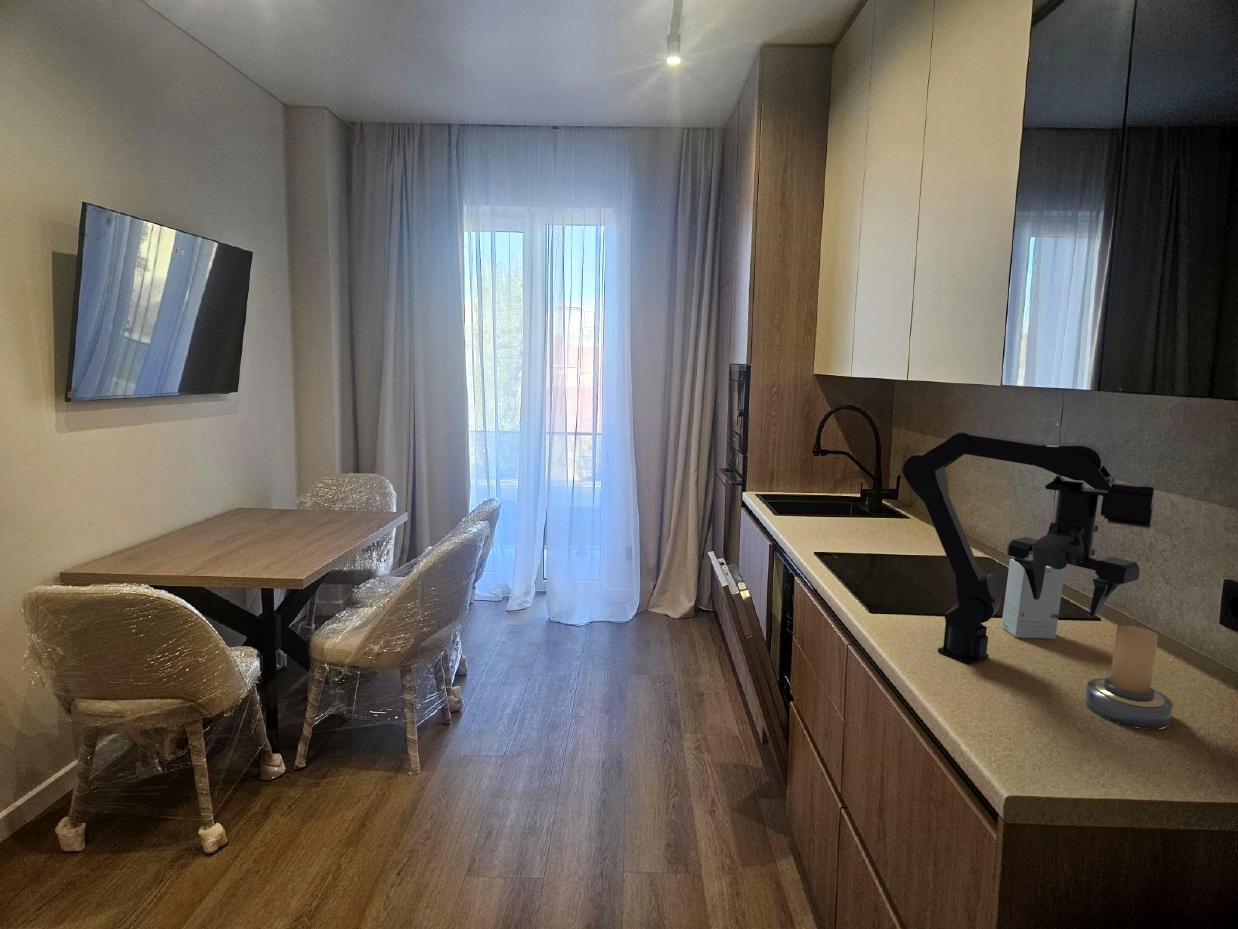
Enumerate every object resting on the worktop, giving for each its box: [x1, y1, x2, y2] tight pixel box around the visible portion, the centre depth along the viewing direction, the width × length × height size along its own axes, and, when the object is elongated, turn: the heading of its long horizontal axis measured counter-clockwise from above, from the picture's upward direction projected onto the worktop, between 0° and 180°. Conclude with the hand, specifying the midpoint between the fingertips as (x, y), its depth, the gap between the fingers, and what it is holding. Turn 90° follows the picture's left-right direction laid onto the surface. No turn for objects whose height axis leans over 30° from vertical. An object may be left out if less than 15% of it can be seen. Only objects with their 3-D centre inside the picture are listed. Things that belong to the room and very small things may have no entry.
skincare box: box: [1001, 558, 1066, 640], centre depth 144 cm, size 8×6×15 cm
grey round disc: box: [1084, 677, 1174, 729], centre depth 113 cm, size 11×11×3 cm
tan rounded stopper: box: [1104, 624, 1159, 702], centre depth 112 cm, size 6×6×10 cm
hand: (1063, 607), depth 122 cm, fingers open, 9 cm apart
